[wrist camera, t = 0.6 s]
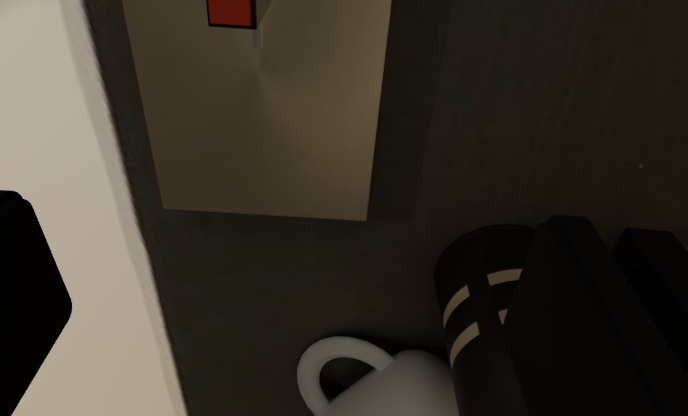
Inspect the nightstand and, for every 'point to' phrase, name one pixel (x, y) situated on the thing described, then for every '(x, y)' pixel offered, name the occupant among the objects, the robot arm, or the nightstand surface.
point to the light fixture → (496, 293)
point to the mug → (379, 381)
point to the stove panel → (263, 105)
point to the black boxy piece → (236, 13)
